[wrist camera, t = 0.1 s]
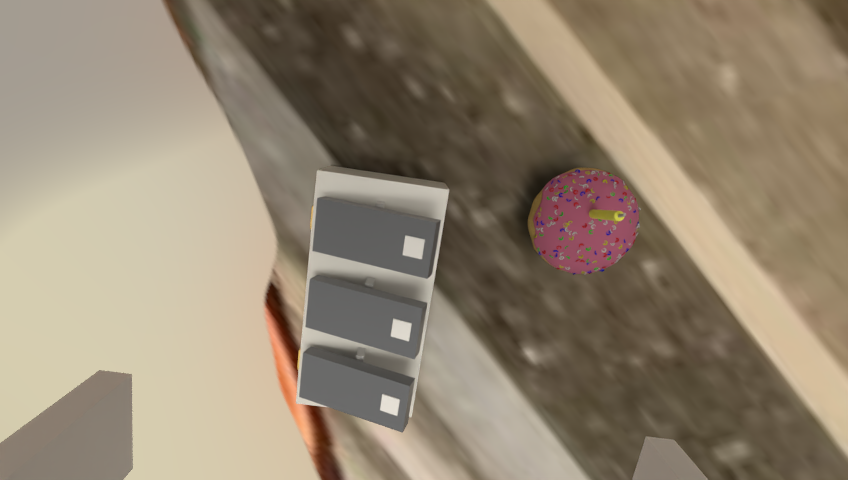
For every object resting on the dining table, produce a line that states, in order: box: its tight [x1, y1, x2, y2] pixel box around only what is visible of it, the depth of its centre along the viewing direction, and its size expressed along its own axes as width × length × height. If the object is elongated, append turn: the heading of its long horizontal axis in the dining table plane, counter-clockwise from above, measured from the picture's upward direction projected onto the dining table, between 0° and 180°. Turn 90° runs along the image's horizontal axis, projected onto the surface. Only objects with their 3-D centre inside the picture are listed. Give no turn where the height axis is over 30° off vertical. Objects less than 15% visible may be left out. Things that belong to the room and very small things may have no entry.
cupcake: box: [528, 168, 641, 275], centre depth 32 cm, size 9×8×12 cm
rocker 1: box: [312, 196, 441, 279], centre depth 30 cm, size 4×9×1 cm, turn 81°
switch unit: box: [296, 166, 449, 417], centre depth 36 cm, size 20×10×6 cm, turn 171°
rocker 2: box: [305, 275, 427, 359], centre depth 32 cm, size 4×9×1 cm, turn 81°
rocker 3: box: [299, 346, 415, 432], centre depth 33 cm, size 4×9×1 cm, turn 81°
